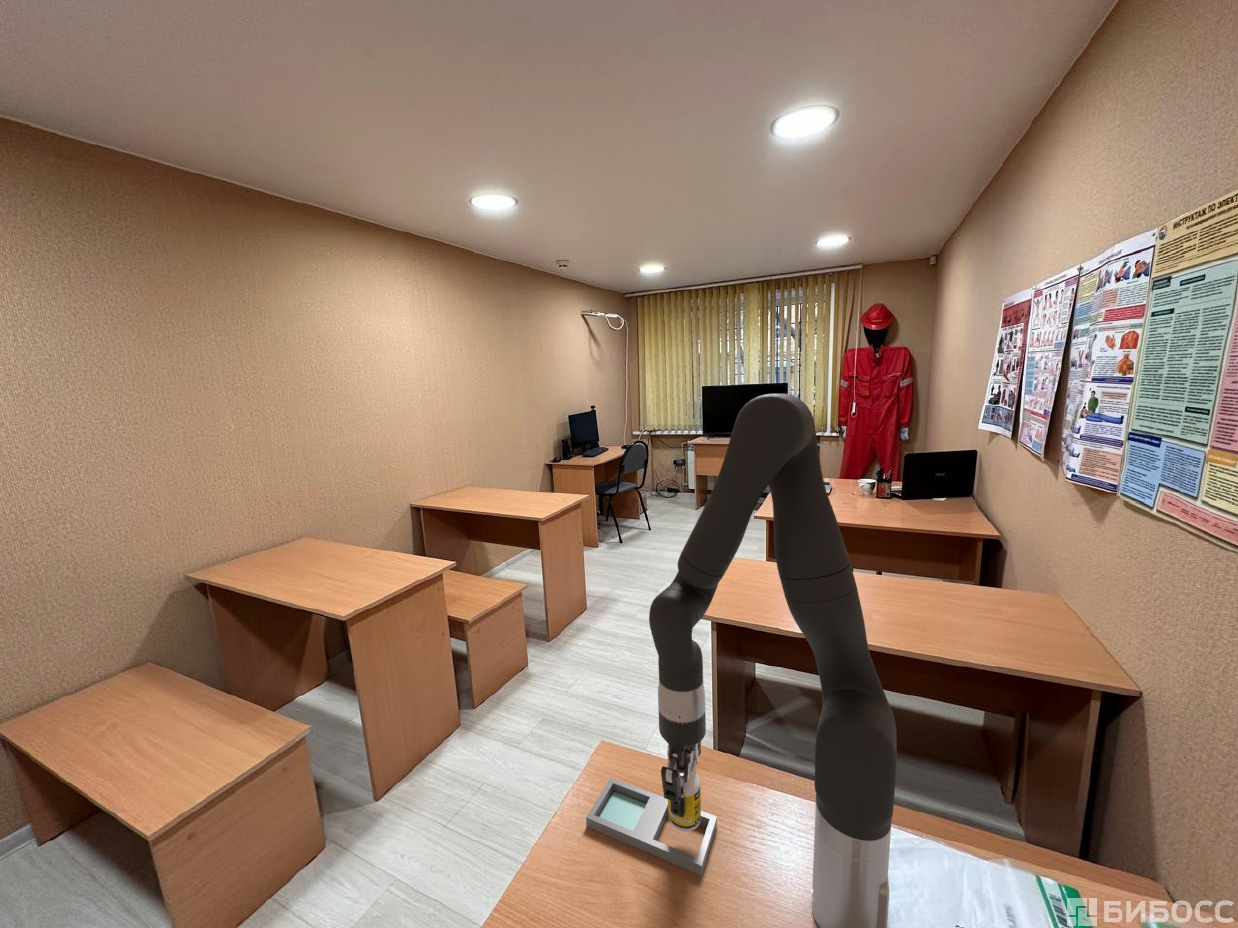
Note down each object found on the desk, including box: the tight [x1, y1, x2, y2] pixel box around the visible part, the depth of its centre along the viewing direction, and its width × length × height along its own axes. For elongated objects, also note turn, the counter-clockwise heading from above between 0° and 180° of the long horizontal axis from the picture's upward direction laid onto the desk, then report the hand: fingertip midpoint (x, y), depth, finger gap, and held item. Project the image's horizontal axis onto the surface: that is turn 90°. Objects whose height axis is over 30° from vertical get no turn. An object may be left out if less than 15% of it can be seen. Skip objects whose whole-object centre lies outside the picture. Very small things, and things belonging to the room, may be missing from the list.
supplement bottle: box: [667, 760, 702, 832], centre depth 78 cm, size 5×5×10 cm
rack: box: [585, 777, 718, 877], centre depth 82 cm, size 20×10×2 cm, turn 64°
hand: (684, 798), depth 78 cm, fingers closed on supplement bottle, 5 cm apart
